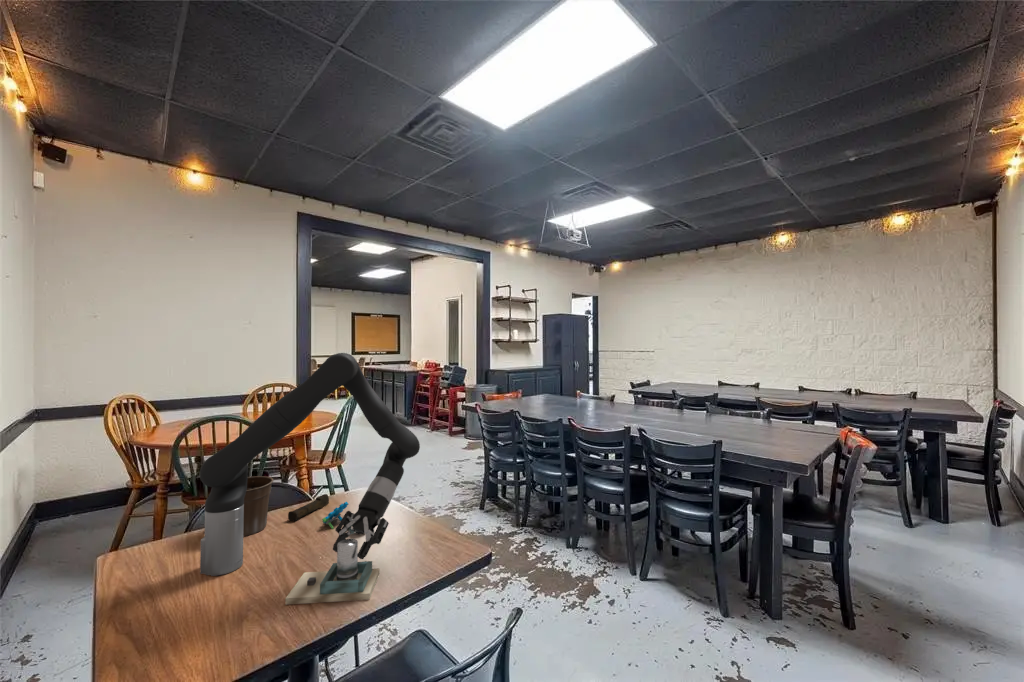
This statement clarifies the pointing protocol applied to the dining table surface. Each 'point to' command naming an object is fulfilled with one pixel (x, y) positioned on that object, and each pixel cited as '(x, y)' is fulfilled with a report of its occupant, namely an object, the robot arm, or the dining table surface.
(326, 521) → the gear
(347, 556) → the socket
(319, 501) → the dark brown rod
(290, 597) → the beige board with frame
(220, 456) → the robot arm
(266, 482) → the plant pot
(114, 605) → the dining table surface
